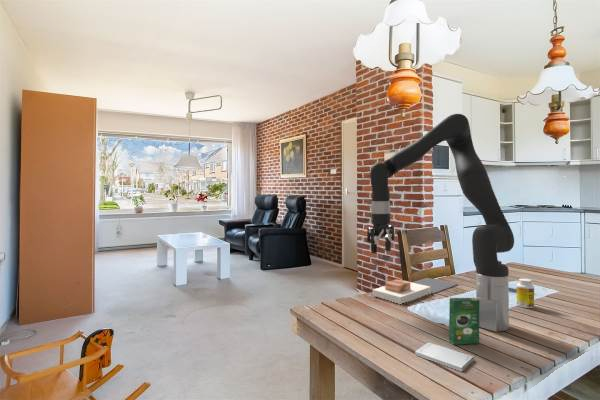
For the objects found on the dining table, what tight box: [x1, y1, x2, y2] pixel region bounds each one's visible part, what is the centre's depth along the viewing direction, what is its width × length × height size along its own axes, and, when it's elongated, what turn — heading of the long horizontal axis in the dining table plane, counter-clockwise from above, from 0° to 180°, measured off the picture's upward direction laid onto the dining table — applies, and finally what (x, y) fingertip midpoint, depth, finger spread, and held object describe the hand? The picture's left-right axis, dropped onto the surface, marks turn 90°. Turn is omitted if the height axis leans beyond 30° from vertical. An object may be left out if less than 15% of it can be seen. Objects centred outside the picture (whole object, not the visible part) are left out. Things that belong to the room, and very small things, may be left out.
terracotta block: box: [384, 279, 411, 293], centre depth 142 cm, size 8×7×3 cm
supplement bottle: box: [516, 278, 535, 309], centre depth 127 cm, size 6×6×10 cm
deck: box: [372, 280, 432, 305], centre depth 144 cm, size 22×14×3 cm, turn 128°
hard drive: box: [414, 342, 475, 372], centre depth 89 cm, size 2×8×12 cm
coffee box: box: [448, 297, 480, 346], centre depth 98 cm, size 8×3×13 cm, turn 93°
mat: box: [412, 277, 459, 295], centre depth 157 cm, size 22×16×1 cm
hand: (381, 252), depth 135 cm, fingers open, 8 cm apart
